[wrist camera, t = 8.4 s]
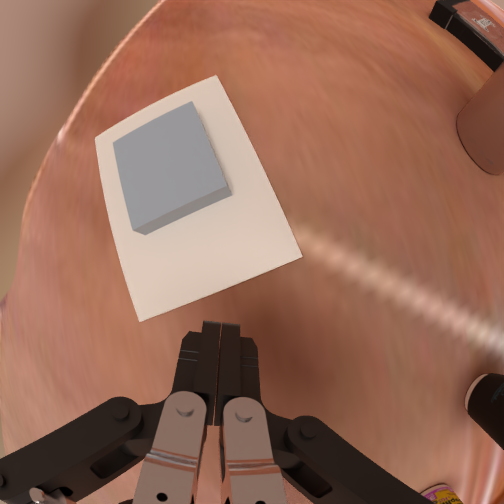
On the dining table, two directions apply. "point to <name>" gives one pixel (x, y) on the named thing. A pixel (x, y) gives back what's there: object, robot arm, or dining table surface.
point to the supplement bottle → (442, 495)
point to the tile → (168, 169)
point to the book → (472, 29)
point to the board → (199, 215)
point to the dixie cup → (488, 405)
